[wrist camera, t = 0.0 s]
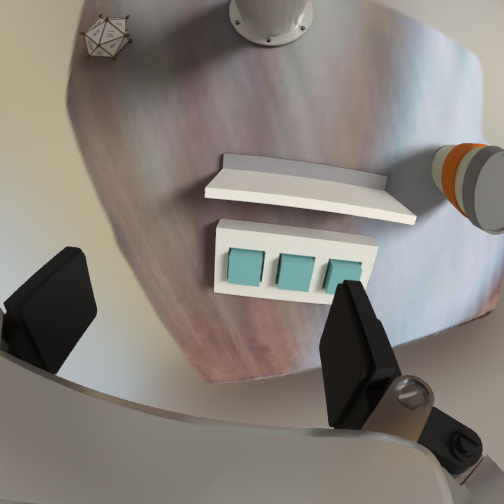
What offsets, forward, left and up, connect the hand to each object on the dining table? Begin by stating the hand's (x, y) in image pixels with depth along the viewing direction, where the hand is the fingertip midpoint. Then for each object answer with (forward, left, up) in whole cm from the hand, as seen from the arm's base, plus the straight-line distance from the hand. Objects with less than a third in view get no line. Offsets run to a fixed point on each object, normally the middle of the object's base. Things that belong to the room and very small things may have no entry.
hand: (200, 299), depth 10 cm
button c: (+17, +16, -34) cm, 41 cm away
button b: (+17, +8, -34) cm, 39 cm away
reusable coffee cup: (-4, +34, -37) cm, 50 cm away
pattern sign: (+3, +8, -37) cm, 38 cm away
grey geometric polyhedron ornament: (-20, -25, -37) cm, 49 cm away
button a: (+17, 0, -34) cm, 38 cm away
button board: (+17, +8, -37) cm, 41 cm away
